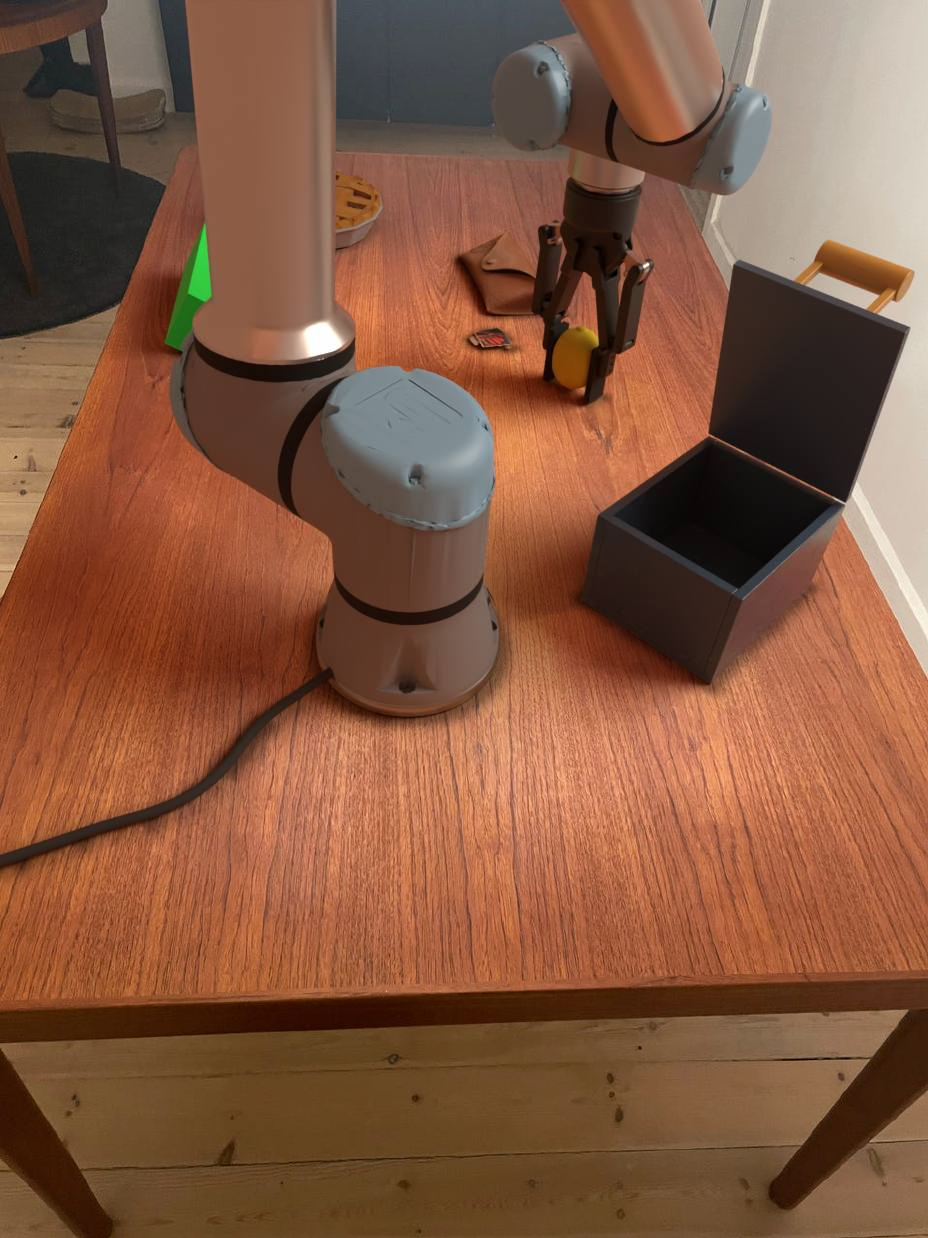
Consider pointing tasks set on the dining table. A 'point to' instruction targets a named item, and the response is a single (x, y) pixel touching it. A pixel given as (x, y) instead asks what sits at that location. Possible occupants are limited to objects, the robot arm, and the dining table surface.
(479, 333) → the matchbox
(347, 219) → the pie
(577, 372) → the lemon
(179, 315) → the green corner bracket
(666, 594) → the tin
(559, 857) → the dining table surface
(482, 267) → the sunglasses case
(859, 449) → the tin lid
